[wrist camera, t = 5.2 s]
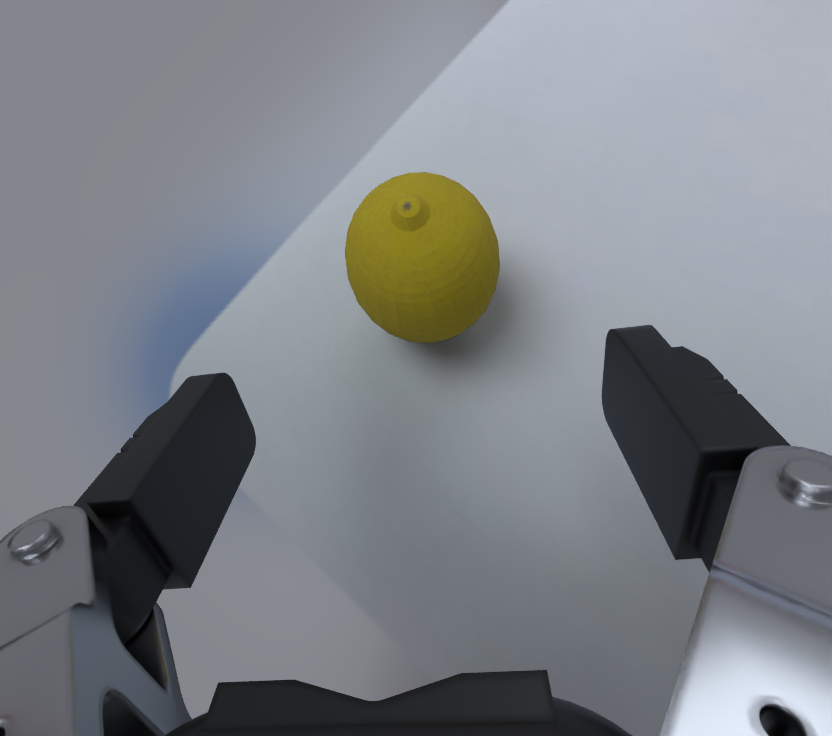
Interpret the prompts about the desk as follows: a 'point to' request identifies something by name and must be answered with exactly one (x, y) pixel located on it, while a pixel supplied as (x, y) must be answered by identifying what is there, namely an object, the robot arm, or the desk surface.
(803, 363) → the desk surface
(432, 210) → the lemon
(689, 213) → the desk surface
